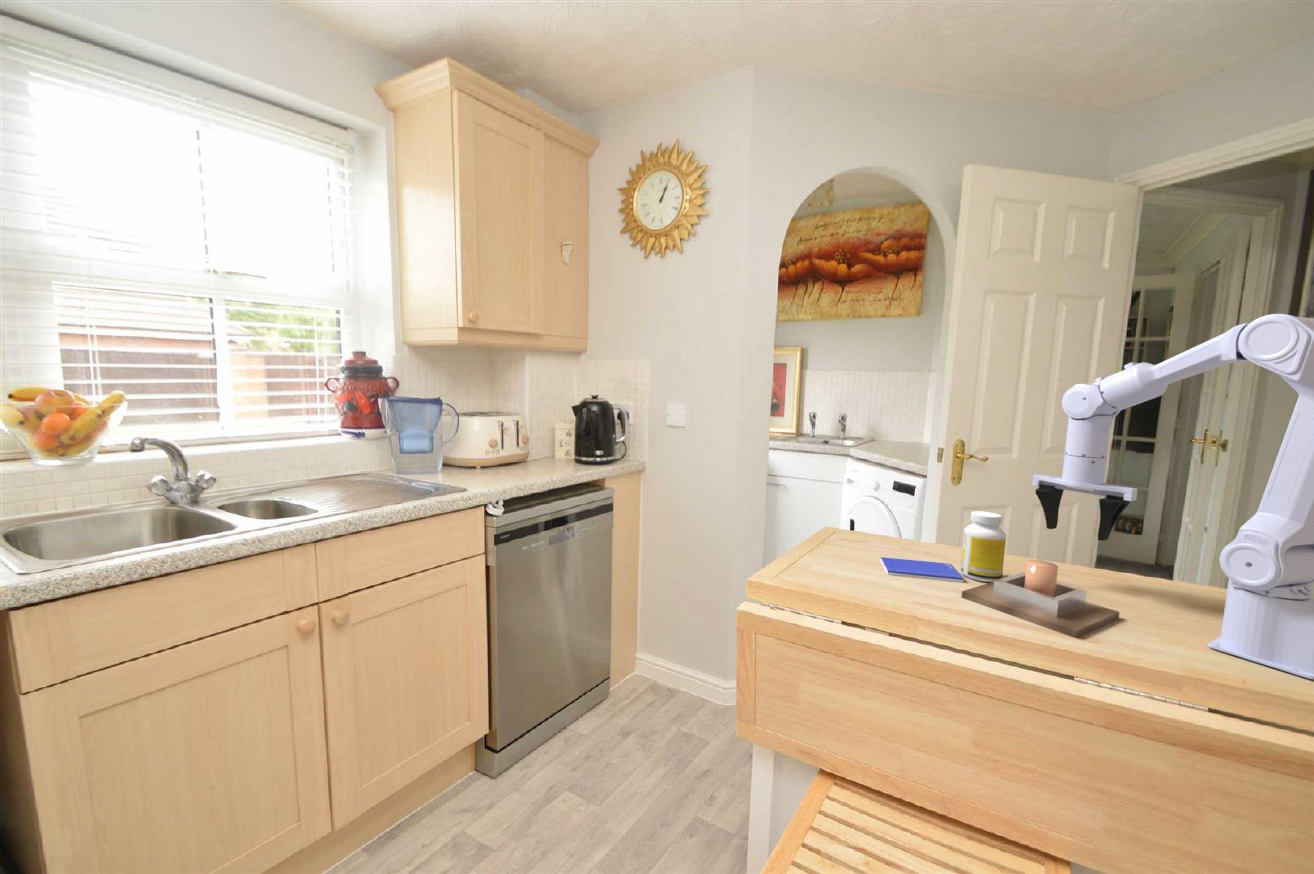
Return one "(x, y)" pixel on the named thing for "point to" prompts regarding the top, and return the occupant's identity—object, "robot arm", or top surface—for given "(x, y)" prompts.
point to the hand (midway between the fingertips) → (1076, 533)
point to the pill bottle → (983, 547)
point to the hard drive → (921, 569)
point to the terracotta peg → (1041, 577)
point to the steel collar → (1040, 596)
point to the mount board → (1067, 624)
